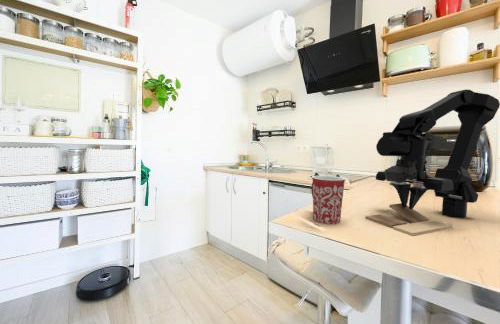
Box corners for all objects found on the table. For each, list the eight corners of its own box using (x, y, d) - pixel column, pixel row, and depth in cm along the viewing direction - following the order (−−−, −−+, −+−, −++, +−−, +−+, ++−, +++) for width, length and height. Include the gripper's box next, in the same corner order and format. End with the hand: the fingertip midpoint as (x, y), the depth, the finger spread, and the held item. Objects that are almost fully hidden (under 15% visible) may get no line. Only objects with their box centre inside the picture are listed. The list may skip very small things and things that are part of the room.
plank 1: (379, 216, 66) (379, 214, 66) (406, 225, 59) (407, 222, 59) (365, 218, 64) (365, 216, 64) (391, 227, 57) (391, 224, 57)
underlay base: (399, 216, 70) (399, 211, 70) (452, 232, 57) (452, 225, 57) (362, 221, 64) (362, 215, 64) (412, 240, 51) (412, 233, 51)
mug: (350, 228, 59) (352, 179, 58) (319, 230, 57) (321, 179, 56) (326, 214, 71) (328, 173, 70) (300, 215, 70) (301, 174, 69)
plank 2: (402, 205, 69) (403, 203, 68) (428, 221, 62) (429, 219, 62) (389, 206, 67) (390, 204, 66) (414, 224, 60) (415, 221, 59)
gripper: (365, 154, 70) (361, 201, 71) (430, 158, 52) (424, 221, 54) (389, 154, 74) (385, 199, 75) (457, 158, 56) (451, 217, 58)
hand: (407, 208), depth 65 cm, fingers closed
